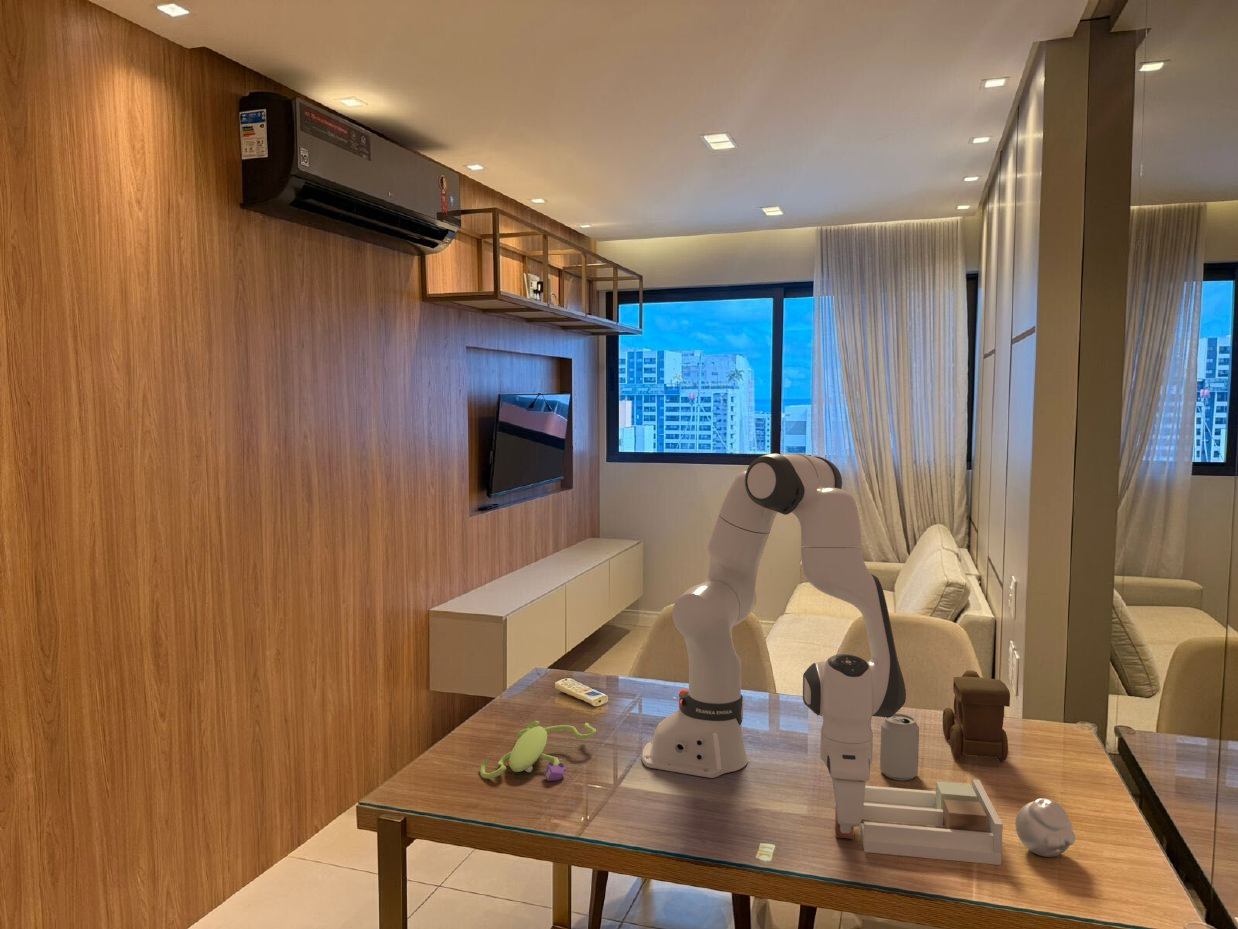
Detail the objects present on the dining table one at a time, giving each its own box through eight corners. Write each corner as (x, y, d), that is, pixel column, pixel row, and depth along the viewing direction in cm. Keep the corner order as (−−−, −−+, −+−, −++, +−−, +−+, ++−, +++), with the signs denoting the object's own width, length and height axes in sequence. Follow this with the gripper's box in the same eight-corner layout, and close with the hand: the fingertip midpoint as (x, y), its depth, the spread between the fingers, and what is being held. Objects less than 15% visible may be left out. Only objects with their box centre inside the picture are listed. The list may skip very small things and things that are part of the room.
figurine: (604, 744, 194) (604, 719, 193) (553, 794, 169) (553, 767, 169) (530, 732, 200) (530, 709, 200) (471, 779, 176) (470, 753, 175)
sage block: (940, 820, 154) (941, 793, 154) (935, 807, 159) (936, 781, 159) (975, 823, 153) (976, 796, 153) (969, 810, 158) (970, 784, 158)
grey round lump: (1014, 862, 144) (1017, 804, 144) (1014, 836, 153) (1016, 781, 152) (1075, 874, 141) (1078, 815, 140) (1071, 846, 149) (1073, 791, 149)
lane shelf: (864, 852, 147) (865, 812, 147) (855, 805, 164) (856, 770, 163) (1001, 865, 143) (1002, 824, 143) (977, 816, 160) (979, 779, 160)
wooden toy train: (1012, 771, 179) (1015, 693, 178) (954, 766, 182) (956, 689, 180) (991, 735, 199) (994, 664, 198) (939, 731, 201) (941, 661, 200)
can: (920, 784, 174) (922, 725, 173) (881, 780, 175) (883, 723, 174) (915, 768, 181) (916, 712, 180) (878, 765, 182) (879, 709, 181)
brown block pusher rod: (836, 840, 150) (837, 803, 150) (834, 826, 155) (835, 790, 155) (985, 854, 146) (986, 816, 146) (978, 839, 151) (979, 802, 150)
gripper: (824, 726, 162) (823, 797, 163) (831, 773, 142) (829, 853, 143) (859, 728, 161) (857, 800, 162) (870, 776, 141) (868, 857, 142)
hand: (844, 825), depth 153 cm, fingers closed on brown block pusher rod, 2 cm apart
